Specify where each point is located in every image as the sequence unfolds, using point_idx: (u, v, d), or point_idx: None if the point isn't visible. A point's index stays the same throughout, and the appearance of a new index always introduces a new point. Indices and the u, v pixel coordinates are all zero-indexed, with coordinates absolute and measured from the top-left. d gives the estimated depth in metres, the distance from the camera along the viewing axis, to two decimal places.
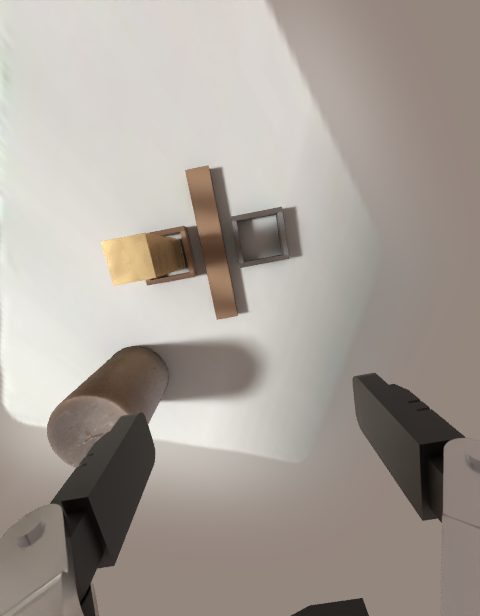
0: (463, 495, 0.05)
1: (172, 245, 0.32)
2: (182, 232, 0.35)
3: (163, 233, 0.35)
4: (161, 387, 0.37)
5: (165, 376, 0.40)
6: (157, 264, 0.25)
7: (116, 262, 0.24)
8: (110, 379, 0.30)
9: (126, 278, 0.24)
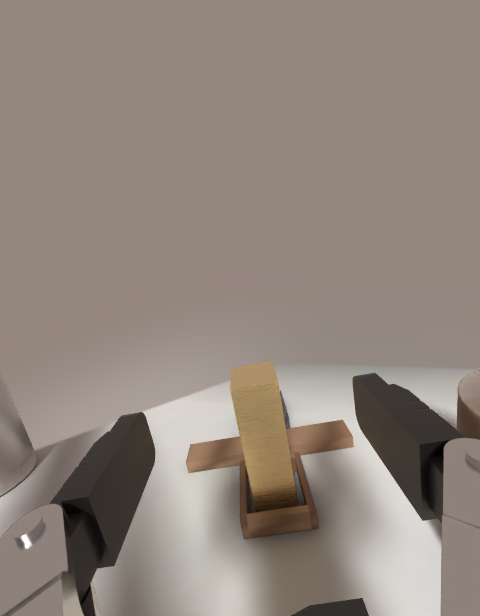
0: (463, 495, 0.05)
1: None
2: None
3: (244, 482, 0.27)
4: None
5: None
6: None
7: (253, 380, 0.23)
8: None
9: (270, 374, 0.23)
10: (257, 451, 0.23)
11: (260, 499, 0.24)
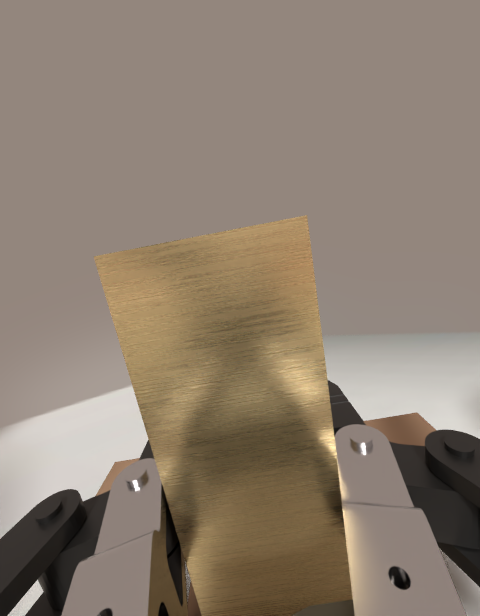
0: (353, 477, 0.05)
1: None
2: None
3: None
4: None
5: None
6: None
7: None
8: None
9: None
10: (224, 516, 0.06)
11: None
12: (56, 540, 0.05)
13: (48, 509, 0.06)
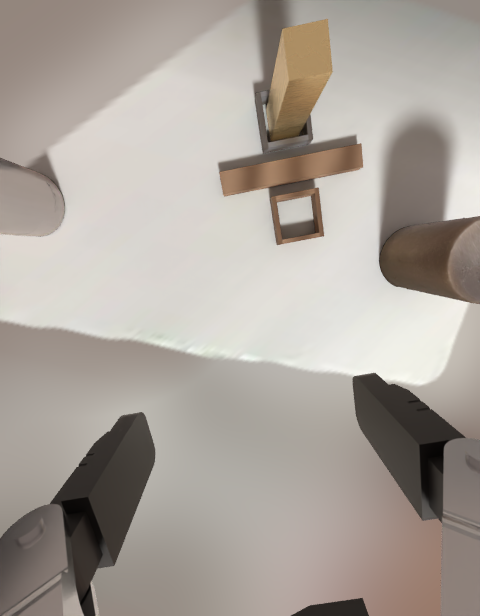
0: (463, 495, 0.05)
1: None
2: (277, 198, 0.38)
3: (277, 216, 0.38)
4: None
5: None
6: None
7: (309, 65, 0.24)
8: (427, 252, 0.31)
9: (326, 55, 0.24)
10: (288, 113, 0.30)
11: (277, 133, 0.35)
12: None
13: None
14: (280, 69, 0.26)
